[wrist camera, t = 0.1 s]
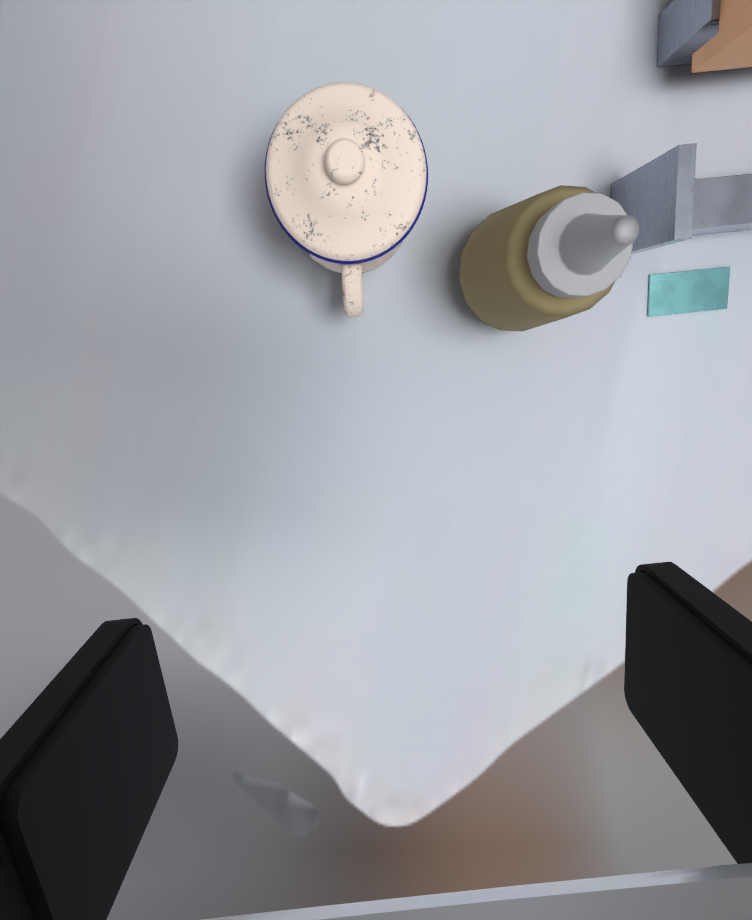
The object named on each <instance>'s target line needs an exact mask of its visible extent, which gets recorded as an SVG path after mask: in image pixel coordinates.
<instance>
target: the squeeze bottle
mask: <svg viewBox="0 0 752 920" xmlns="http://www.w3.org/2000/svg"><path fill="white" fill-rule="evenodd" d="M638 234H639V224H638V222H637V220H636V219H635V218H634V217H632V216H630V215H627V214H626V212H625V211H624V210H623V208H622V207H621V205H620V204H619V202H617V201H615V200H613V199H611V198H610V197H608V196H606V195H604V194H602V193H595V192H593V191H591V190H590V189H588V188H586V187H576V186H558V187H556V188H553V189H550V190H548V191H545V192H543V193H540V194H537V195H535V196H533V197H530V198H528V199H526V200H523V201H521V202H519V203H516V204H514V205H512V206H509V207H507V208H505V209H502V210H500V211H498V212H495V213H493V214H491V215H489V216H488V217H487V218H486V219H485V220H484V221H483V222H482V223H481V224H480V225H479V226H478V227H477V228H476V229H475V230H474V231H472V233H471V235H470V237H469V239H468V241H467V243H466V246H465V248H464V250H463V252H462V254H461V261H460V273H459V282H460V285H461V288H462V292H463V295H464V298H465V302H466V303H467V305H468V306H469V307H470V308H471V310H472V311H473V312H474V313H475V314H476V316H477V317H478V318H479V319H480V320H481V321H483V322H485V323H487V324H489V325H491V326H493V327H495V328H497V329H499V330H506V331H525V330H528V329H531V328H534V327H538V326H541V325H544V324H547V323H550V322H553V321H557V320H560V319H563V318H566V317H569V316H572V315H574V314H577V313H580V312H583V311H585V310H588V309H590V308H592V307H593V306H594V305H595V304H596V303H597V302H598V301H600V300H601V299H602V298H603V297H604V296H605V295H606V294H608V293H609V291H610V290H611V288H612V286H613V284H614V282H615V281H616V280H617V279H618V278H619V277H620V276H621V275H622V273H623V271H624V269H625V267H626V266H627V264H628V262H629V260H630V258H631V252H632V246H633V242H634V241H635V240H636V238H637V236H638Z"/></svg>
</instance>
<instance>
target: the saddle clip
mask: <svg viewBox="0 0 752 920" xmlns="http://www.w3.org/2000/svg"><path fill="white" fill-rule="evenodd" d="M746 67H752V0H721V4H720V20H719V33H718V34H717V35H715V36H714V37H713V38H712V39H711V40H709V41H708V42H707V43H706V44H705V45H703V46H702V47H701V48H700V49H699V50H697V51H696V52H695V53H694V54H693V55H692V73H696V72H706V71H716V70H726V69H736V68H746Z"/></svg>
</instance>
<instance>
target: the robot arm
mask: <svg viewBox="0 0 752 920" xmlns="http://www.w3.org/2000/svg"><path fill="white" fill-rule="evenodd" d="M624 691H625V698H626V701H627V704H628V707H629V709H630V711H631V712H632V714H633V715H634V717H635V718H636V719H637V721H638V722H639V724H640V725H641V726H642V728H643V730H644V731H645V732H646V734H647V735H648V737H649V738H650V740H651V741H652V742H653V744H654V745H655V747H656V748H657V750H658V751H659V752H660V754H661V755H662V756H663V758H664V759H665V761H666V762H667V763H668V765H669V766H670V768H671V769H672V771H673V772H674V774H675V775H676V777H677V778H678V779H679V781H680V782H681V784H682V785H683V787H684V788H685V789H686V791H687V792H688V794H689V795H690V797H691V798H692V799H693V801H694V802H695V804H696V805H697V806H698V808H699V809H700V811H701V812H702V814H703V815H704V816H705V818H706V819H707V821H708V822H709V824H710V825H711V826H712V828H713V829H714V831H715V832H716V833H717V835H718V836H719V838H720V839H721V841H722V842H723V844H724V845H725V846H726V848H727V849H728V851H729V852H730V853H731V855H732V856H733V858H734V859H735V861H736V862H737V863H738V864H733V865H721V866H711V867H700V868H690V869H680V870H670V871H660V872H650V873H640V874H629V875H620V876H609V877H600V878H589V879H579V880H569V881H559V882H548V883H538V884H528V885H519V886H509V887H500V888H490V889H481V890H471V891H462V892H453V893H442V894H434V895H424V896H414V897H405V898H395V899H386V900H377V901H367V902H358V903H348V904H339V905H330V906H320V907H311V908H302V909H293V910H284V911H275V912H266V913H257V914H248V915H239V916H231V917H221V918H212V919H203V920H752V622H751V621H750V620H749V619H747V618H746V617H744V616H743V615H742V614H740V613H739V612H738V611H736V610H735V609H734V608H732V607H731V606H730V605H729V604H727V603H726V602H725V601H723V600H722V599H721V598H719V597H718V596H717V595H715V594H714V593H713V592H711V591H710V590H709V589H707V588H706V587H705V586H703V585H702V584H701V583H699V582H698V581H697V580H695V579H694V578H693V577H691V576H690V575H689V574H687V573H686V572H685V571H683V570H682V569H681V568H679V567H678V566H677V565H675V564H674V563H672V562H662V563H653V564H643V565H639V566H638V567H637V568H636V571H635V573H631V574H630V575H629V577H628V581H627V613H626V648H625V684H624ZM177 751H178V738H177V733H176V729H175V725H174V721H173V717H172V713H171V708H170V704H169V700H168V696H167V692H166V688H165V684H164V680H163V676H162V672H161V668H160V664H159V660H158V656H157V651H156V647H155V643H154V639H153V635H152V631H151V628H150V627H149V626H148V625H142V623H141V622H140V620H139V619H137V618H131V619H121V620H113V621H105V622H104V623H103V624H102V625H101V626H100V627H99V628H98V629H97V630H96V631H95V632H94V633H93V635H92V636H91V637H90V638H89V639H88V640H87V642H86V643H85V644H84V645H83V646H82V647H81V648H80V649H79V651H78V652H77V653H76V654H75V655H74V656H73V657H72V659H71V660H70V661H69V662H68V663H67V664H66V666H65V667H64V668H63V669H62V670H61V671H60V672H59V673H58V674H57V676H56V677H55V678H54V679H53V680H52V681H51V682H50V684H49V685H48V686H47V687H46V688H45V689H44V690H43V691H42V693H41V694H40V695H39V696H38V697H37V698H36V699H35V701H34V702H33V703H32V704H31V705H30V706H29V707H28V709H27V710H26V711H25V712H24V713H23V714H22V716H20V718H19V719H18V720H17V721H16V722H15V723H14V725H13V726H12V727H11V728H10V729H9V730H8V731H7V732H6V734H5V735H4V736H3V737H2V738H1V739H0V920H106V919H107V917H108V915H109V912H110V910H111V907H112V905H113V903H114V900H115V898H116V896H117V894H118V891H119V889H120V887H121V884H122V882H123V880H124V878H125V875H126V873H127V871H128V868H129V866H130V864H131V861H132V859H133V857H134V854H135V852H136V850H137V847H138V845H139V843H140V841H141V838H142V836H143V834H144V831H145V829H146V827H147V824H148V822H149V820H150V817H151V815H152V813H153V810H154V808H155V806H156V803H157V801H158V799H159V797H160V794H161V792H162V790H163V787H164V785H165V783H166V780H167V778H168V776H169V773H170V771H171V769H172V766H173V764H174V762H175V759H176V756H177Z"/></svg>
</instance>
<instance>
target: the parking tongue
mask: <svg viewBox="0 0 752 920" xmlns="http://www.w3.org/2000/svg"><path fill="white" fill-rule="evenodd" d="M720 4H721V0H673V1H672V2H671V3H670V4H669V5H668V6H667V7H666V8H665V9H664V11H663V12H662V13H661V14H660V15H659V32H658V58H657V67H663V66H673V65H683V64H692V55H693V54H694V53H695V52H696V51H697V50H699V49H700V48H701V47H702V46H703V45H705V44H706V43H707V42H708V41H709V40H711V39H712V38H713V37H714V36H715V35H717V34H718V33H719V20H720Z"/></svg>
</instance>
